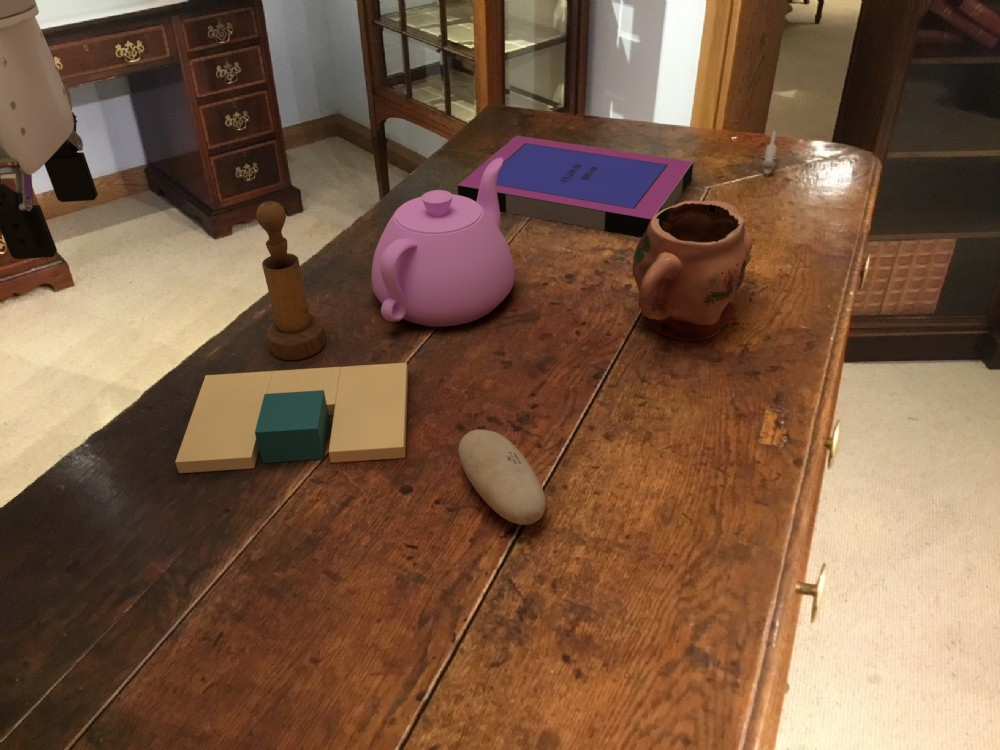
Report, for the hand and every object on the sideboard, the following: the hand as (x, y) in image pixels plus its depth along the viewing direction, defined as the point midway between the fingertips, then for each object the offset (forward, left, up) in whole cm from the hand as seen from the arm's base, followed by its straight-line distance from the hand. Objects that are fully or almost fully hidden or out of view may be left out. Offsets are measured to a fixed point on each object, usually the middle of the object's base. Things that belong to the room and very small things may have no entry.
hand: (58, 226), depth 68 cm
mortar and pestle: (+12, +20, -26) cm, 35 cm away
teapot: (+30, +30, -26) cm, 50 cm away
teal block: (+14, +3, -26) cm, 30 cm away
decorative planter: (+57, +19, -26) cm, 65 cm away
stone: (+34, -7, -26) cm, 44 cm away
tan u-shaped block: (+14, +6, -26) cm, 30 cm away
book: (+50, +57, -26) cm, 80 cm away
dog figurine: (+81, +61, -26) cm, 105 cm away
